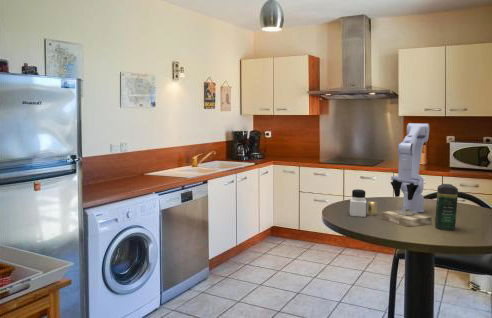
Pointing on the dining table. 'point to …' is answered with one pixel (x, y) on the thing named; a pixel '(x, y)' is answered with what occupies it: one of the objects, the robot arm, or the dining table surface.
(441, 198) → the coffee jar
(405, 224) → the bore block
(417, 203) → the robot arm
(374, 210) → the brass round peg
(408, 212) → the steel square peg
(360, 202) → the medicine bottle
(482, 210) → the dining table surface
